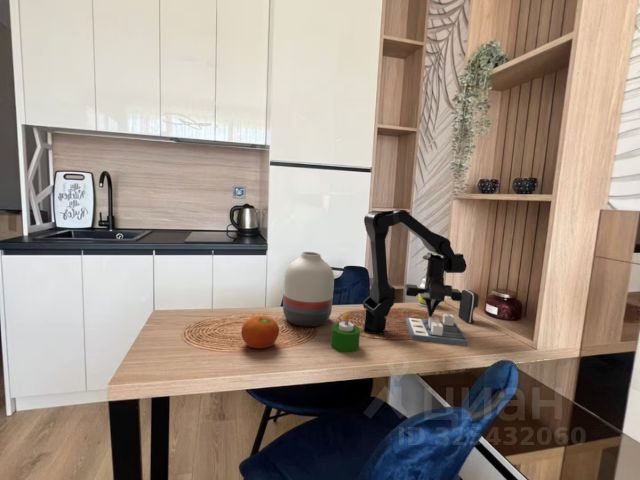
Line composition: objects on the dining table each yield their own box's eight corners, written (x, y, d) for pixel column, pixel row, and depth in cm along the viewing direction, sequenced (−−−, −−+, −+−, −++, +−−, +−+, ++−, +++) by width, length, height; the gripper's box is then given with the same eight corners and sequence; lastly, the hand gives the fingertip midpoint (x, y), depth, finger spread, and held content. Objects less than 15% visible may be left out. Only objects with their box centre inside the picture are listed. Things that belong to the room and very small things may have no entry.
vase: (313, 334, 111) (318, 260, 108) (271, 320, 120) (275, 252, 117) (339, 319, 126) (345, 254, 122) (300, 308, 134) (304, 247, 131)
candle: (326, 341, 107) (328, 310, 105) (350, 339, 110) (352, 308, 109) (338, 354, 99) (340, 320, 98) (363, 350, 103) (366, 317, 101)
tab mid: (429, 328, 118) (430, 319, 118) (427, 325, 121) (428, 316, 121) (438, 329, 118) (439, 320, 118) (436, 326, 121) (437, 317, 121)
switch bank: (411, 339, 113) (412, 333, 113) (405, 321, 129) (406, 316, 128) (466, 345, 111) (467, 339, 111) (453, 326, 127) (454, 321, 127)
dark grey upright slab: (477, 323, 131) (481, 294, 130) (467, 323, 131) (471, 293, 129) (466, 316, 138) (470, 288, 137) (457, 316, 138) (461, 288, 136)
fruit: (236, 340, 103) (237, 314, 102) (269, 335, 109) (270, 310, 107) (248, 356, 94) (249, 328, 93) (284, 350, 99) (285, 322, 98)
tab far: (444, 325, 123) (445, 316, 122) (442, 321, 126) (443, 313, 125) (453, 326, 122) (454, 317, 122) (451, 322, 125) (452, 314, 125)
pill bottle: (424, 301, 154) (427, 277, 152) (436, 306, 149) (439, 280, 147) (414, 303, 151) (417, 278, 149) (426, 308, 145) (429, 282, 144)
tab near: (432, 334, 113) (433, 325, 113) (430, 330, 116) (431, 321, 116) (442, 335, 113) (443, 326, 113) (440, 331, 116) (441, 322, 116)
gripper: (410, 275, 115) (405, 321, 117) (470, 281, 113) (463, 327, 115) (406, 268, 126) (402, 310, 128) (460, 273, 124) (455, 316, 126)
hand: (429, 316), depth 124 cm, fingers closed
